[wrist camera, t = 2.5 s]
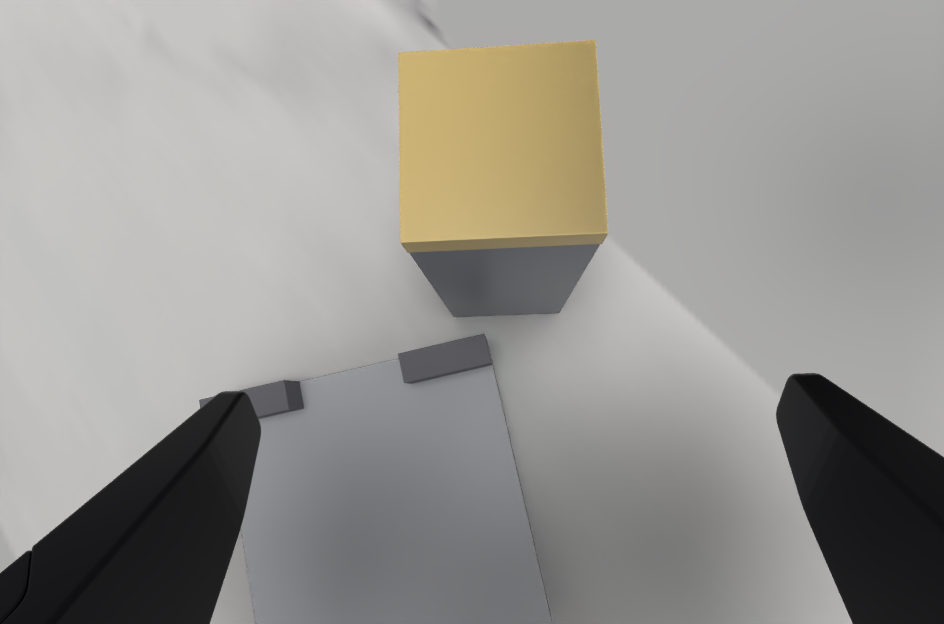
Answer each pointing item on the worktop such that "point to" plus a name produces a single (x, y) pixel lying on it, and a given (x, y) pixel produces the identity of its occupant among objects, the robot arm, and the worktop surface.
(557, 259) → the grey block
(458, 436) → the pad
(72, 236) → the worktop surface
